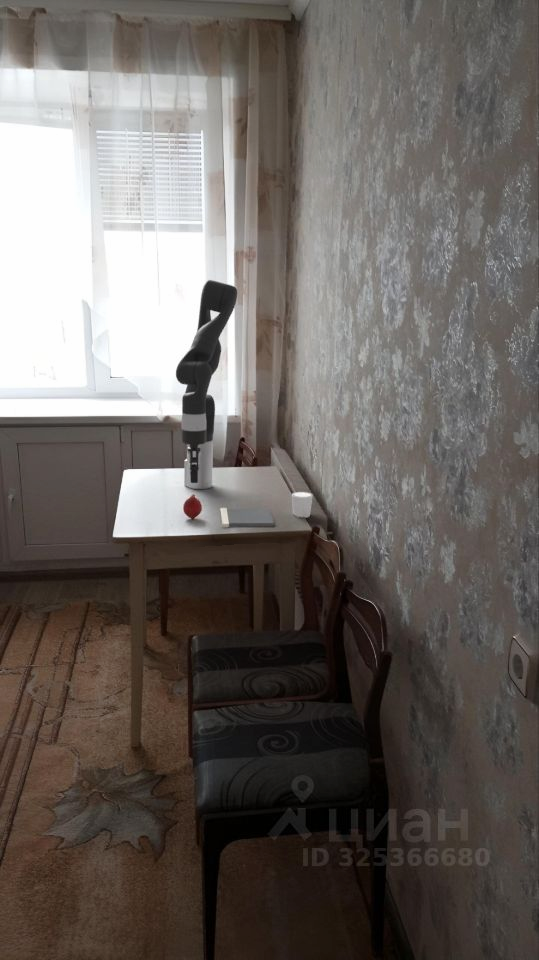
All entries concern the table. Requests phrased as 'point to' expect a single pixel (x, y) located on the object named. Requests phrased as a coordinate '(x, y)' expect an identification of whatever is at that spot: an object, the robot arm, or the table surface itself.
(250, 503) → the table surface
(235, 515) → the mat
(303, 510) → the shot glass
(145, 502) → the table surface
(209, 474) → the robot arm
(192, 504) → the onion
